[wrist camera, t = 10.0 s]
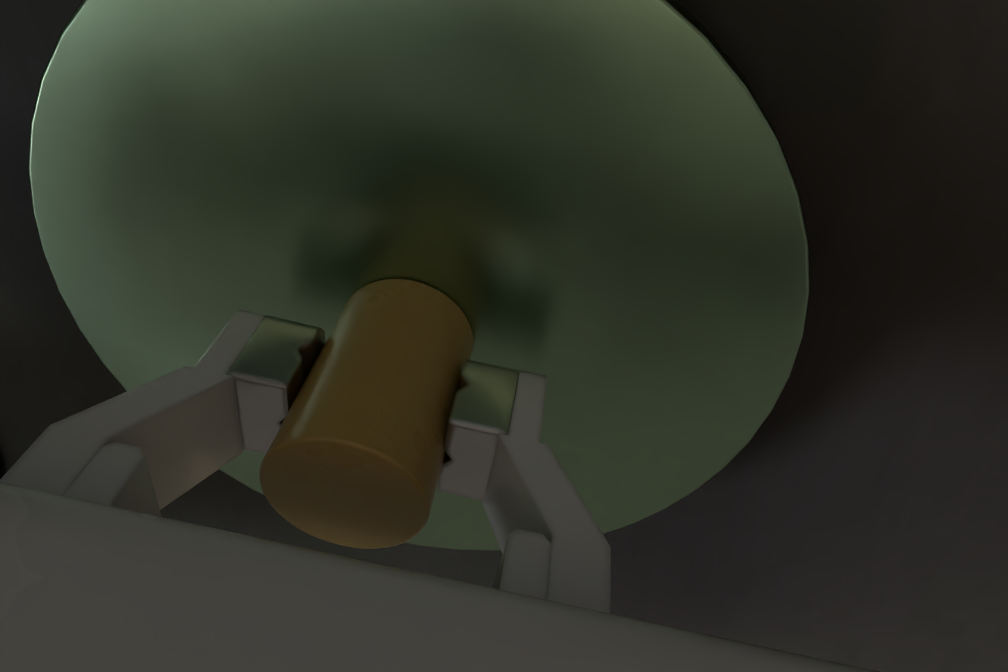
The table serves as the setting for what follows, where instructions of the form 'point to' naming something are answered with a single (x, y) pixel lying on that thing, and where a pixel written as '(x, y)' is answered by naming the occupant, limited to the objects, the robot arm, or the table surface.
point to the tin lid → (431, 234)
